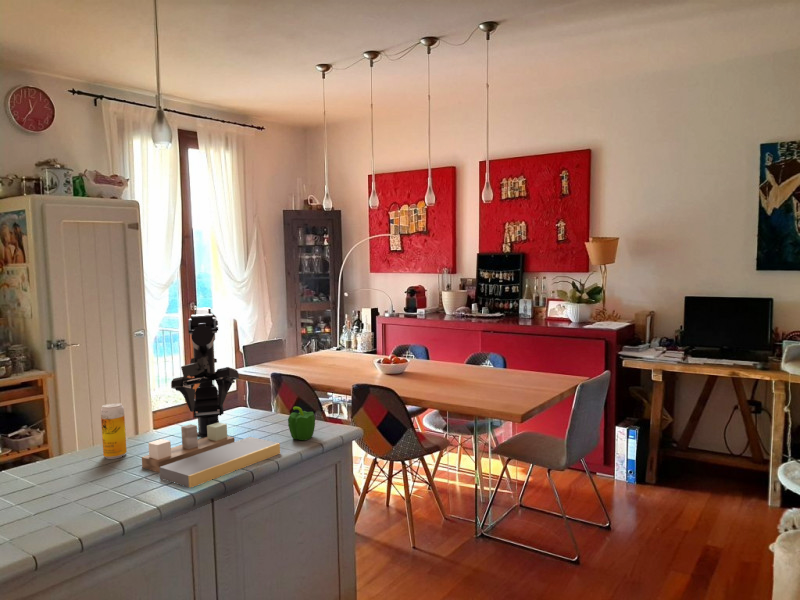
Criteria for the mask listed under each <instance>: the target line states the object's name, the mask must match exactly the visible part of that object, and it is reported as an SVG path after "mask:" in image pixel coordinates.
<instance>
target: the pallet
mask: <svg viewBox="0 0 800 600" xmlns="http://www.w3.org/2000/svg"><path fill="white" fill-rule="evenodd" d="M180 429H181V442H182V443H181V444H179V445H176V446H173V447H171V456H168V457H165V458H162V459H159V460H157V459H154V458H150V457H149V454H148V455H144V456H141V467H142V469H146V470H150V471H152V472H155V473H159V474H160V467H161V466H164V465H167V464H170V463H173V462H176V461H179V460H182V459H185V458H188V457H191V456H194V455H197V454H200V453H203V452H206V451H209V450H212V449H215V448H218V447H221V446H224V445H227V444H230V443H233V442H236V440H235V437H234V436H230V435H229V436H228V435H227V438H224V439H221V440H218V441H214V440H210V439H208V437H202V438H199V439H198V436H197V432H198V425H196V424H191V423H189V424H186V425H183V426H181V428H180Z"/></svg>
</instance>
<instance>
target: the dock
mask: <svg viewBox="0 0 800 600" xmlns="http://www.w3.org/2000/svg"><path fill="white" fill-rule="evenodd" d="M280 454H281V444H280V443H279V442H275V441H271V440H266V439H261V438H257V437H252V436H248V437H245V438H242V439H240V440H235V442H233V443H230V444H227V445H224V446H221V447H218V448H215V449H212V450H209V451H206V452H203V453H200V454H197V455H194V456H191V457H188V458H185V459H182V460H179V461H176V462H173V463H170V464H167V465H164V466H161V467H160V473H159V478H160V480H163V479H164V481H167V480H168V481H167V482H170V481H171V483H173V482H175V483H174V484H176V483H178V484H177V485H179V484H181V485H180V486H182V485H184V486H183V487H186V488H189V487H190V488H189V489H192V488H194V486H195V487H197V486H199V484H200V485H202V484H204V483H207V481H208V482H209V481H213V480H214V479H215V480H216V479H217V478H221V477H223V476H225V474H226V475H229V474H230V473H233V471H234V472H236V471H239V470H242V469H243V468H246V466H247V467H249V466H251V465H255V464H256V463H259V462H262V461H264V460H267V459H271V458H272V457H275V456H277V455H280ZM238 469H239V470H238ZM235 470H236V471H235ZM220 476H221V477H220ZM212 479H213V480H212ZM191 487H192V488H191Z"/></svg>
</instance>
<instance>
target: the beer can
mask: <svg viewBox="0 0 800 600" xmlns="http://www.w3.org/2000/svg"><path fill="white" fill-rule="evenodd" d="M100 423H101V437H102V452H103V456H104V457H105V459H107V460H114V459H119V458H122V456H123V457H125V454H126V453H128V451H127V439H126V438H127V437H126V436H127V434H126V419H125V407H124V405H123V403H121V402H112V403H106V404H103V405H101V409H100Z"/></svg>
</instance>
